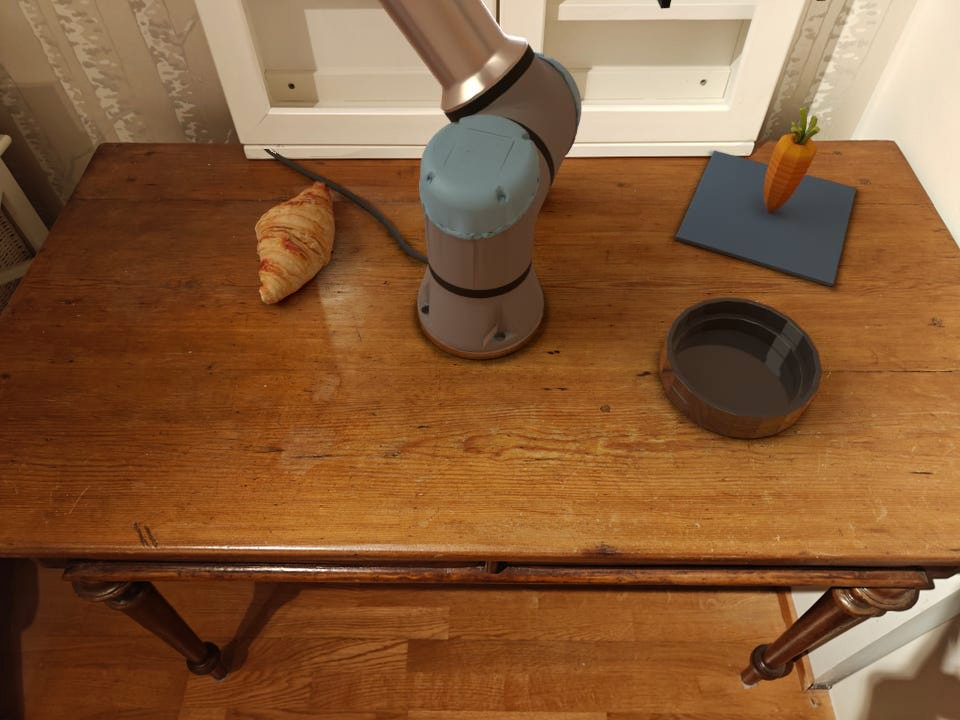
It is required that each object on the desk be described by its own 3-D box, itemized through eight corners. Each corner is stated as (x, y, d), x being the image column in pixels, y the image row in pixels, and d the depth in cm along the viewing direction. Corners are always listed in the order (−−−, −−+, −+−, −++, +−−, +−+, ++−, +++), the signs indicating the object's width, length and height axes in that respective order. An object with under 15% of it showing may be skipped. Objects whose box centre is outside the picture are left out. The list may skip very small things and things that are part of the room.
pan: (640, 406, 77) (647, 383, 73) (681, 305, 85) (689, 280, 82) (790, 462, 72) (806, 440, 69) (817, 350, 81) (832, 325, 78)
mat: (675, 239, 92) (676, 236, 92) (713, 153, 103) (714, 150, 102) (831, 287, 87) (833, 283, 87) (854, 191, 98) (856, 187, 97)
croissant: (299, 331, 88) (316, 298, 82) (220, 298, 85) (232, 262, 79) (346, 215, 100) (364, 179, 94) (278, 183, 97) (292, 143, 91)
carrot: (789, 226, 93) (834, 129, 81) (750, 221, 93) (790, 124, 81) (787, 201, 96) (830, 104, 84) (749, 197, 96) (787, 99, 84)
